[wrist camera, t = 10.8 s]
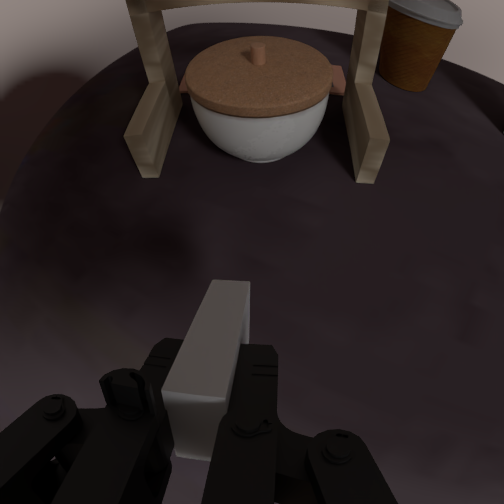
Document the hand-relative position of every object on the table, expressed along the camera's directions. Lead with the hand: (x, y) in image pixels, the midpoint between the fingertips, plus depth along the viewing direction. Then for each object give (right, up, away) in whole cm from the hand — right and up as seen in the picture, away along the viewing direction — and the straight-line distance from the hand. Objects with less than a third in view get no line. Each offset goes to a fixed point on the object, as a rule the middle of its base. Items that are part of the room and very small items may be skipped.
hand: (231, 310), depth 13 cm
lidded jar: (+2, +12, +14) cm, 19 cm away
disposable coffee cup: (+19, +24, +19) cm, 36 cm away
